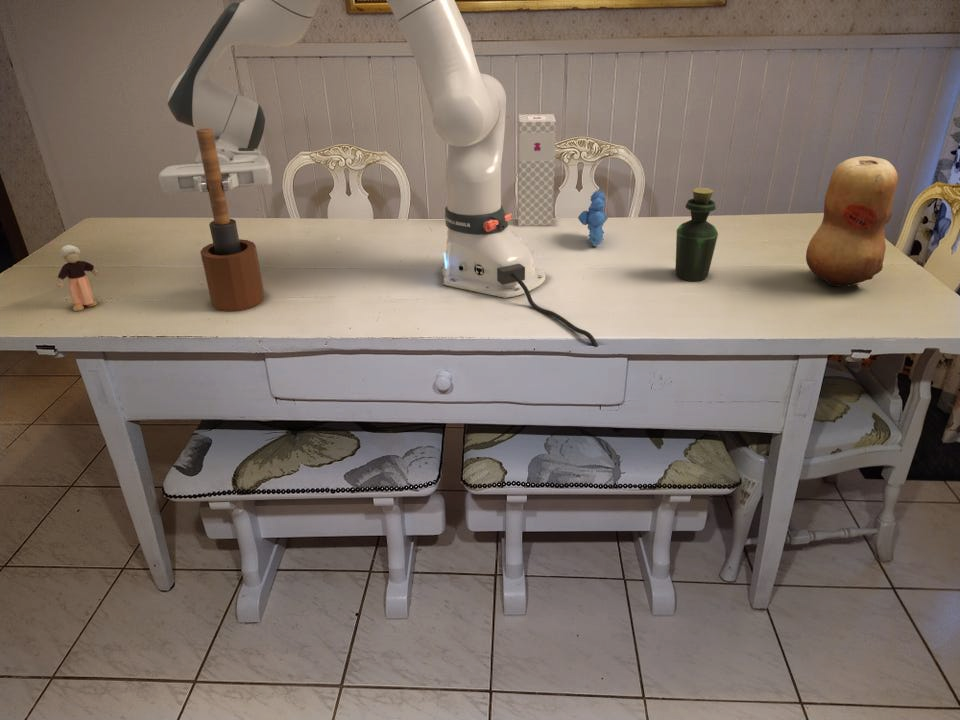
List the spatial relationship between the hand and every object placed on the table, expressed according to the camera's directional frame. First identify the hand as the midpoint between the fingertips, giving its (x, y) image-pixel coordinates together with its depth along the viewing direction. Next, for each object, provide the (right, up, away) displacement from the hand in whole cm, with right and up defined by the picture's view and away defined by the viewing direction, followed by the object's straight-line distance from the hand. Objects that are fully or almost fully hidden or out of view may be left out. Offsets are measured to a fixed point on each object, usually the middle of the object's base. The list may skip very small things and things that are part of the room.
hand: (215, 187), depth 133 cm
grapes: (+74, -4, +37) cm, 83 cm away
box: (+62, +4, +52) cm, 81 cm away
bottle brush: (0, -12, +8) cm, 14 cm away
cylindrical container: (0, -20, +12) cm, 23 cm away
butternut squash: (+121, -16, +14) cm, 123 cm away
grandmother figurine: (-29, -21, +11) cm, 38 cm away
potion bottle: (+92, -14, +19) cm, 95 cm away
